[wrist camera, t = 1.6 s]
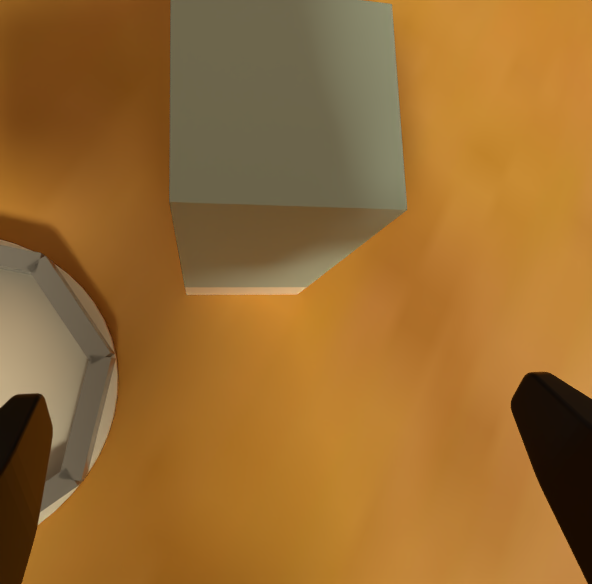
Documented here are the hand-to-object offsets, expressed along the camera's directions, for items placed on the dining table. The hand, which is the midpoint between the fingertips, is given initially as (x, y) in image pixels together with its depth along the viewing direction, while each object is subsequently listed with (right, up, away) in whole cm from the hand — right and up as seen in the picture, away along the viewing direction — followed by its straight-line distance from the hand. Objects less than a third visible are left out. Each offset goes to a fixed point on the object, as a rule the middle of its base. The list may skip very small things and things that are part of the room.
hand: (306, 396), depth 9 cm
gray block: (-3, +4, +13) cm, 14 cm away
